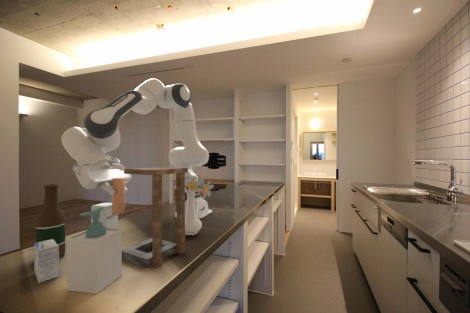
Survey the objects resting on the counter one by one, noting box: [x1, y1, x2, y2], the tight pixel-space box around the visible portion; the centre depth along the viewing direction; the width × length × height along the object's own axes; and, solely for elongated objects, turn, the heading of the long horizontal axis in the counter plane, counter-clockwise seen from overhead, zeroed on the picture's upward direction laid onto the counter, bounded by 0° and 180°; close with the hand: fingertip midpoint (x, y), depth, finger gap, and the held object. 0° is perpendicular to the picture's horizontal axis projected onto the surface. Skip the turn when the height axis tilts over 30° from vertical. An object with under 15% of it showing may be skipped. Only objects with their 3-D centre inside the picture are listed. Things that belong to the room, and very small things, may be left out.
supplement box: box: [90, 202, 119, 229], centre depth 94 cm, size 7×7×13 cm
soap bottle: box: [66, 208, 123, 295], centre depth 56 cm, size 9×9×19 cm
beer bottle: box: [35, 183, 66, 259], centre depth 71 cm, size 8×8×24 cm
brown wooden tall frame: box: [122, 166, 188, 269], centre depth 72 cm, size 14×16×29 cm
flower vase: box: [172, 175, 215, 237], centre depth 93 cm, size 13×18×25 cm
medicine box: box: [33, 239, 60, 284], centre depth 60 cm, size 8×4×9 cm, turn 48°
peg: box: [111, 178, 126, 215], centre depth 75 cm, size 4×4×12 cm
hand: (120, 192), depth 75 cm, fingers closed on peg, 4 cm apart
